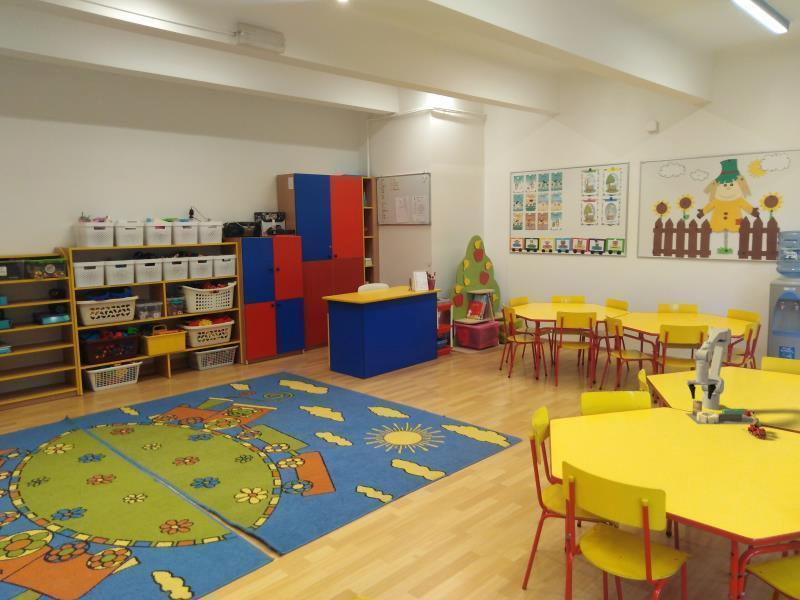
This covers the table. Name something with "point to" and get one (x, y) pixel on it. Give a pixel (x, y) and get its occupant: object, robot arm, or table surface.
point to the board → (744, 420)
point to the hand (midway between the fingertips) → (701, 398)
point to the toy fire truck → (755, 430)
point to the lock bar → (734, 411)
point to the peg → (697, 407)
